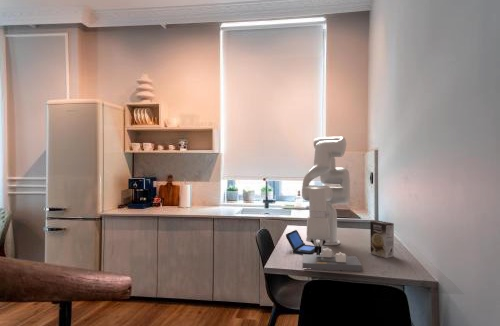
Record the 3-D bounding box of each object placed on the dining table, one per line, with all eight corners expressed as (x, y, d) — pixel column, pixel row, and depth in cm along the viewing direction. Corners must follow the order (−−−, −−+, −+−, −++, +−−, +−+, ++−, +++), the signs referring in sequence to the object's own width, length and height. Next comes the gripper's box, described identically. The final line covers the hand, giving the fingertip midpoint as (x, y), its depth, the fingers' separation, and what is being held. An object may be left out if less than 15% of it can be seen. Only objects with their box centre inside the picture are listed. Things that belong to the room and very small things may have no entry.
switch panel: (303, 259, 156) (303, 254, 156) (356, 261, 152) (356, 255, 152) (303, 268, 142) (302, 262, 142) (361, 271, 138) (361, 265, 138)
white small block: (335, 260, 145) (335, 251, 145) (345, 260, 144) (344, 252, 144) (336, 262, 142) (336, 253, 142) (345, 262, 141) (345, 253, 141)
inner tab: (322, 255, 153) (322, 247, 153) (331, 255, 152) (331, 247, 152) (322, 257, 150) (322, 249, 150) (332, 257, 149) (331, 249, 149)
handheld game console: (310, 256, 163) (310, 237, 163) (285, 252, 170) (284, 234, 170) (319, 248, 177) (319, 231, 177) (296, 246, 183) (296, 229, 183)
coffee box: (369, 253, 165) (369, 221, 165) (378, 252, 168) (378, 220, 168) (385, 258, 157) (385, 224, 157) (394, 256, 160) (394, 222, 160)
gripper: (334, 213, 154) (334, 253, 154) (301, 212, 157) (301, 251, 156) (335, 215, 147) (335, 257, 146) (301, 215, 149) (301, 256, 149)
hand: (318, 254), depth 151 cm, fingers closed
